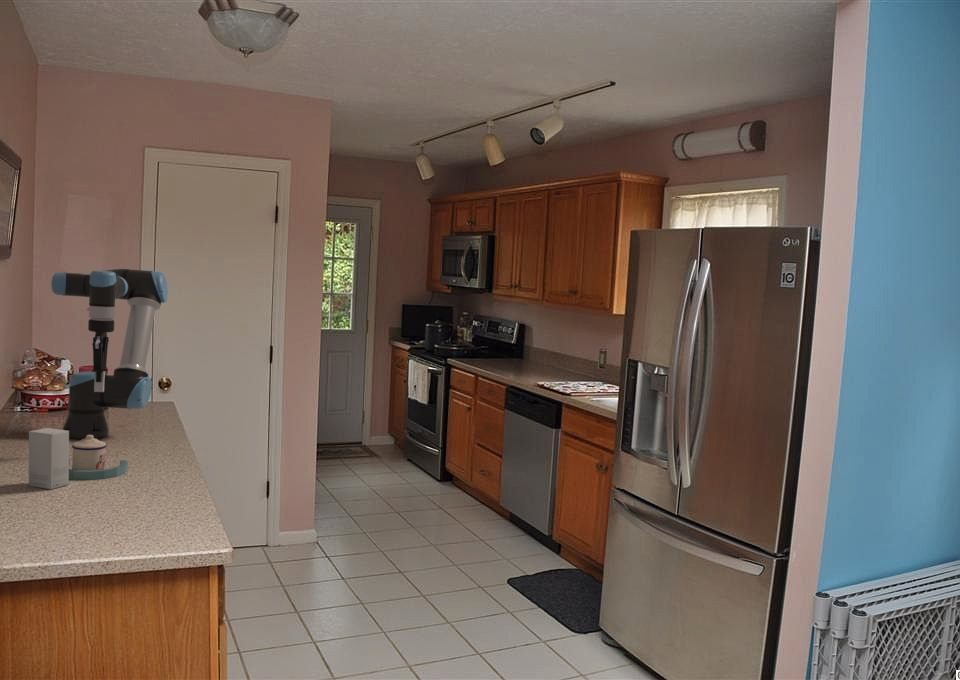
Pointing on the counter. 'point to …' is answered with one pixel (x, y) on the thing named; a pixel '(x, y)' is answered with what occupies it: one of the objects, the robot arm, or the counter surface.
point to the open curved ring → (99, 472)
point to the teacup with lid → (88, 454)
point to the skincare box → (48, 458)
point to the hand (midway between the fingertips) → (99, 391)
